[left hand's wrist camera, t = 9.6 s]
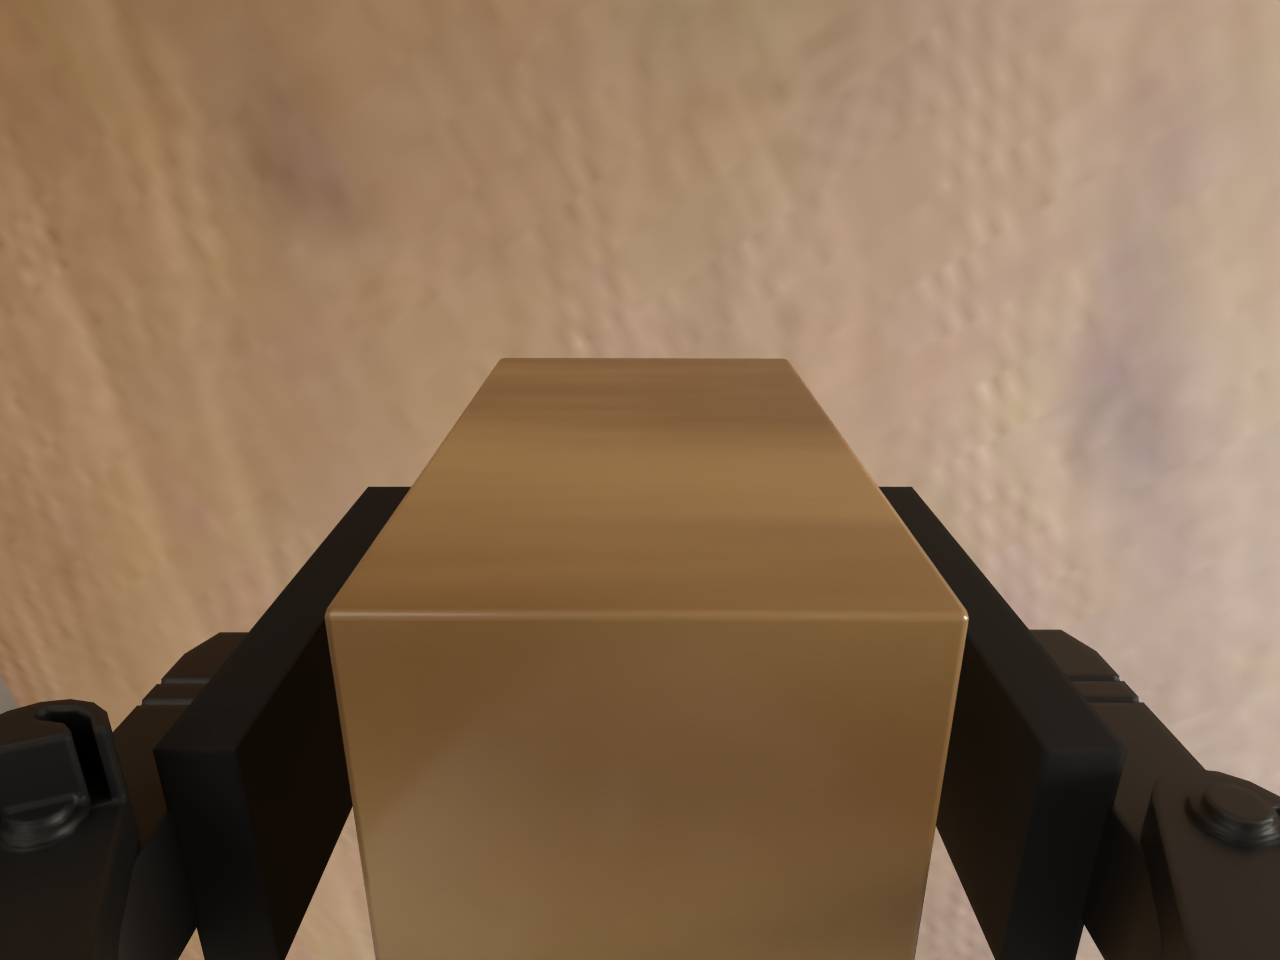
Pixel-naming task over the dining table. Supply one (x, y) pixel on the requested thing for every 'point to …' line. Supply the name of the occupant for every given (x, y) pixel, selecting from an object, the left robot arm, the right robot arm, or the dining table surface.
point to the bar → (645, 679)
